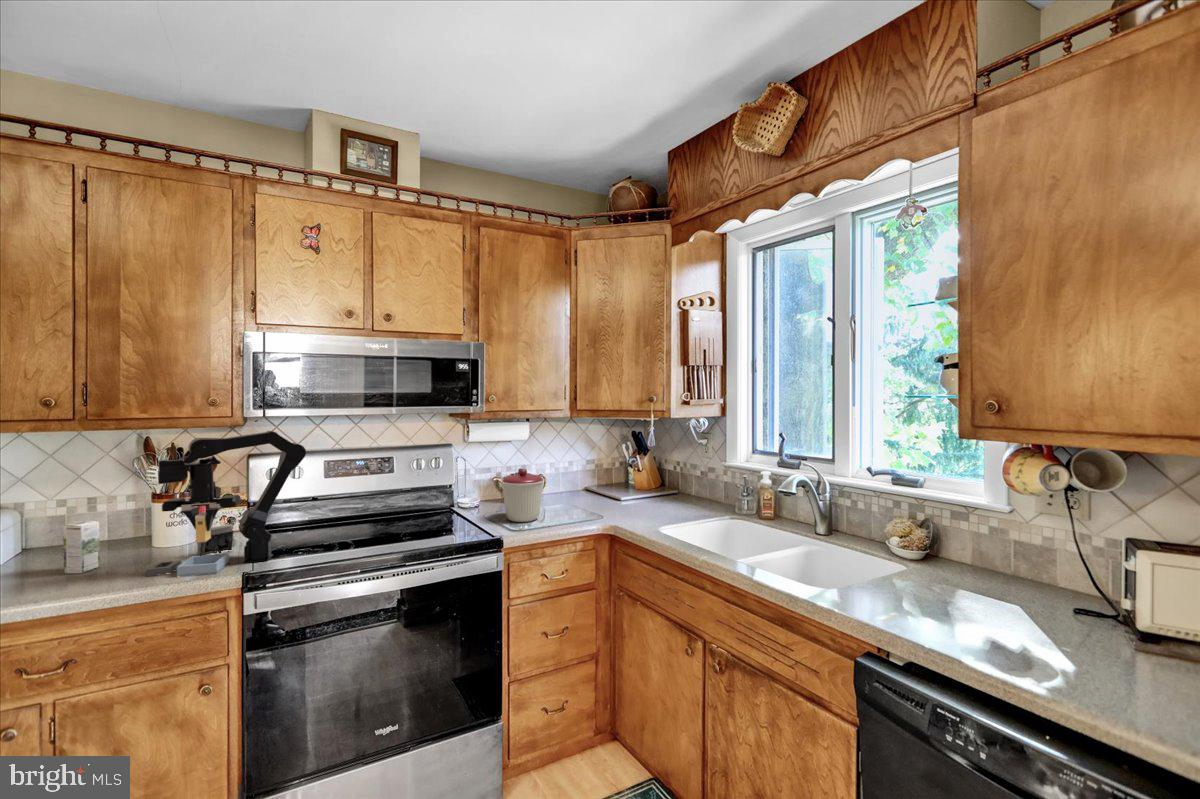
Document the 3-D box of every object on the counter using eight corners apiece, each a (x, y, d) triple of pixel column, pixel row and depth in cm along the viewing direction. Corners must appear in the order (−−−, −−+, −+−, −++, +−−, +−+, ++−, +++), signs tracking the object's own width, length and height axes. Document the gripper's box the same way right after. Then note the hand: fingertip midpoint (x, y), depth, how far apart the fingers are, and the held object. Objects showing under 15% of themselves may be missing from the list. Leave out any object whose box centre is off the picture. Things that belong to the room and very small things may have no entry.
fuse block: (181, 566, 168) (180, 560, 168) (170, 574, 161) (170, 567, 161) (157, 568, 166) (157, 561, 166) (146, 576, 159) (146, 569, 159)
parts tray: (229, 562, 171) (228, 553, 171) (216, 573, 161) (216, 563, 161) (191, 565, 168) (191, 556, 168) (177, 577, 159) (176, 566, 158)
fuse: (211, 538, 167) (210, 512, 167) (205, 541, 163) (204, 515, 163) (201, 538, 166) (200, 512, 166) (195, 542, 162) (195, 516, 162)
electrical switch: (230, 548, 186) (230, 522, 185) (235, 553, 182) (236, 526, 182) (197, 555, 178) (197, 528, 178) (202, 560, 175) (202, 532, 174)
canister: (492, 518, 226) (492, 468, 225) (528, 511, 238) (528, 464, 237) (516, 527, 212) (516, 474, 211) (553, 519, 224) (553, 468, 224)
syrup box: (82, 567, 167) (80, 520, 167) (100, 567, 167) (99, 520, 167) (63, 573, 161) (61, 525, 161) (82, 573, 161) (81, 525, 161)
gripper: (246, 473, 174) (247, 522, 175) (177, 477, 169) (179, 526, 169) (233, 479, 164) (235, 531, 164) (160, 483, 158) (161, 536, 159)
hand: (203, 531), depth 164 cm, fingers closed on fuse, 2 cm apart
